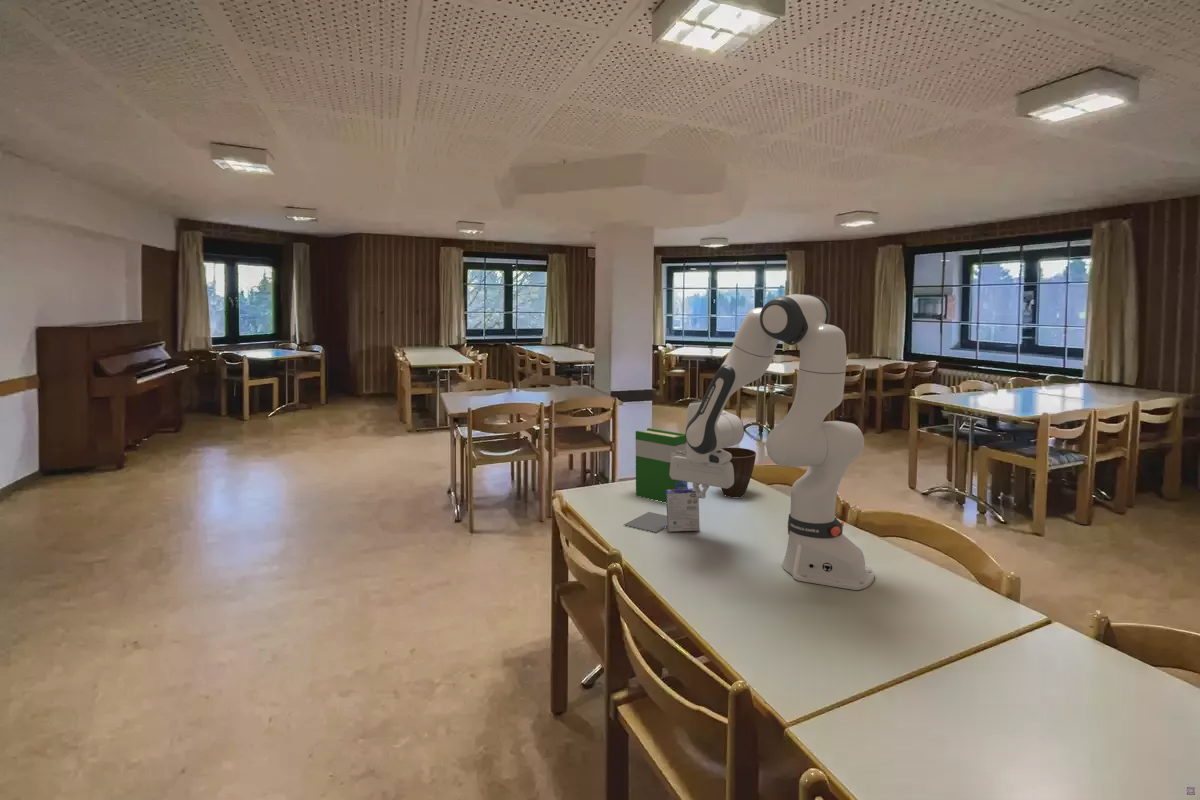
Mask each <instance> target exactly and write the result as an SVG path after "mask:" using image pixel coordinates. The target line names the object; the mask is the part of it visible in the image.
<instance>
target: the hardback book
mask: <svg viewBox="0 0 1200 800" xmlns="http://www.w3.org/2000/svg"><path fill="white" fill-rule="evenodd" d="M675 450H684V451H686V437H685V433H682V432H675V431H669V430H662V429H657V428H656V429H655V428H649V427H647V428H646V430H645V431H641V430H635V496H636V495H637V496H636V497H639V496H641V497H640V498H643V497H645V498H644V499H647V498H649V499H648V500H651V499H653V500H652V501H655V500H658V501H662V502H666V490H673V489H676V482H686V481H680V480H674V479H671V477H670V475H669V473H670V464H671V452H672V451H675ZM674 453H675V452H674ZM677 486H678V487H685V486H686V485H684V484H680V485H677ZM658 501H657V502H658ZM662 502H661V503H662ZM666 503H667V502H666ZM666 503H665V504H666Z"/></svg>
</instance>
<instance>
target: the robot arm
mask: <svg viewBox="0 0 1200 800" xmlns="http://www.w3.org/2000/svg"><path fill="white" fill-rule="evenodd" d="M830 320H831V308H830V306H829V304H828V302H827V301H826V300H825V299H824V298H822V297H820V296H818V295H815V294H809V293H808V294H799V293H794V294H792V293H791V294H788V295H781V296H776V297H773V298H772V299H770V300H768V302H766V304H764V306H763V307H755V308H752V309H750V310H749V311H748V312H747V314H746V315H745V316H744V319H743V320H742V322H741V323H740V325H739V328H738V330H737V332H736V335H735V337H734V340H733V343H732V345H731V348H730V350H729V352H728V354H727V356H726V358H725V360H724V361H723V363H722V364H721V365H720V367H719V368H718V369H717V371H716V372H715V374H714V376H713V378H712V380H711V381H710V383H709V385H708V387H707V389H706V392H705V394H704V396H703V399H700V400H699V399H698V400H693V401H691V402H690V403H689V404H688V406H687V410H686V424H685V426H686V427H685V431H684V432H685V433H684V434H685V437H686V451H684V450H675V451H672V452H671V464H670V473H669V475H670V477H671V479H674V480H680V481H686V482H687V483H692V488H694V490H695V492H696V497H697V498H699V499H703V500H705V499H706V497H707V494H706V493H707V491H708V489H709V488H710V487H716V488H720V489H721V488H726V489H727V488H730V487H731V486H732V485H733V484H734V469H733V465H732V463H731V462H730V460H731V459H732V455H731V453H729V452H727V451H725V450H723V449H722V448H729V447H734V446H735V445H738V444H740V443H741V442H742V441H743V438H744V435H745V426H744V423H743V421H742V419H741V418H740V417H739V416H738V415H736V413H735V414H734V413H731V412H729V411H727V410H725V407H726V405H727V403H728V400H730V398H731V396H732V395H733V394H734V393H735V392H737V391H738V390H740V389H742V388H743V387H745V386H746V385H749V384H751V383H753V382H755V381H757V380H759V379H760V378H762V377H763V376H764V374H765V373H766V371H768V369H769V366H770V365H771V363H772V360H773V358H774V355H775V352H776V349H777V346H778V344H779V342H780V341H781V342H783V343H785V344H786V345H788V346H795V345H796V346H798V349H799V365H798V374H797V384H796V389H795V390H796V391H795V395H794V399H793V403H792V405H791V407H790V409H789V411H788V412H787V414H786V415H785V417H784V418H783V419H782V420H781V422H780V423H779V424H778V425H776V426H775V427H773V428H772V429H771V430H770V432H769V433H768V435H767V438H766V445H765V446H766V447H765V448H766V452H767V454H768V456H769V458H770V460H771V461H772V462H773V463H774V464H775V465H776V466H782V467H783V466H784V467H790V468H799V467H808V468H807V470H806V471H805V473H804V474H803V475H802V476H801V477H800V478H798V479H796V480H795V481H794V483H792V486H791V488H790V489H791V490H790V512H789V514H788V520H787V534H788V538H787V539H788V541H787V546H786V549H785V550H786V551H785V556H784V559H783V561H782V564H781V566H782V568H783V570H785V571H786V572H787V573H789V574H790V575H791V576H792V577H793V579H794V580H796V581H799V582H804V583H810V584H811V583H812V584H817V585H821V586H829V587H835V588H839V589H840V588H841V589H848V590H853V591H861V590H863V589H866V588H868V587H870V586H871V584H872V583H873V582H874V579H875V571H874V570H873V568H871V567H868V566H866V562H865V561H866V559H865V556H864V552H863V551H862V549H861V548H860V547H859V546H857V545H856V544H855V543H854V542H852V541H851V540H850V539H849V538H848V537H847V536H846V535H844V534H843V530H844V529H843V528H844V524H845V521H844V520H842V521H840V520H839V519H837V518H836V508H837V507H836V506H837V497H838V490H839V486H840V483H841V480H842V478H843V477H844V475H845V474H846V471H847V470H848V468H849V467H850V465H852V463H853V462H855V461H856V460H857V459H858V458H859V457H860V456H861V455H862V453H863V450H864V447H865V438H864V434H863V432H862V430H861V429H860V428H859V427H858V425H856V424H855V423H852V422H847V421H840V420H830V421H825V418H826V417H827V416H828V414H830V412H832V411H834V410H835V409H836V408H837V407H839V406H840V405H841V403H842V402H843V399H844V392H845V382H846V381H845V380H846V371H847V342H846V335H845V333H844V331H843V330H842V328H840V327H838V326H837V325H833V324H829V322H830ZM674 452H675V453H674ZM700 485H701V488H703V489H702V490H701V489H700V487H699V486H700Z"/></svg>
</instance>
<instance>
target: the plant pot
mask: <svg viewBox="0 0 1200 800" xmlns="http://www.w3.org/2000/svg"><path fill="white" fill-rule="evenodd" d="M722 449H723V450H725V451H727V452H729V453H731V455H732V459H731V460H730V462H731V463H732V465H733V469H734V484H733V485H732V486H731V487H730V488H727V489H726V488H720V489H721V491H722V495H723V496H725V495H726V496H725V497H727V496H730V497H729V498H732V497H739V498H742V497H741V496H743V495H744V496H745V494H746V492H747V489H748V487H749V484H750V481H751V478H752V475H753V471H754V467H755V464H756V457H757V452H756V451H755V450H753V449H749V448H745V447H734V446H730V447H726V448H722ZM744 496H743V497H744Z"/></svg>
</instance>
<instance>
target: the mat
mask: <svg viewBox="0 0 1200 800" xmlns="http://www.w3.org/2000/svg"><path fill="white" fill-rule="evenodd" d="M624 525H625V526H624ZM623 526H624V527H627V526H629V527H628V528H631V527H633V528H632V529H635V528H637V529H636V530H640V529H641V530H642V531H644V530H646V531H645V532H648V531H650V533H653V532H654V533H653V534H657V532H658V533H660V532H661V531H663V530H665V529H666V528H668V527H667V526H668V522H667V514H666V515H664V514H662V513H661V514H660V513H656V512H651V511H647V512H645V513H644V514H641V515H640V516H638V517H636V518H633V519H631V520H630V521H628V522H626V523H624V524H623ZM665 527H666V528H665ZM664 528H665V529H664ZM662 529H663V530H662ZM641 530H640V531H641ZM660 530H661V531H660Z"/></svg>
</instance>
